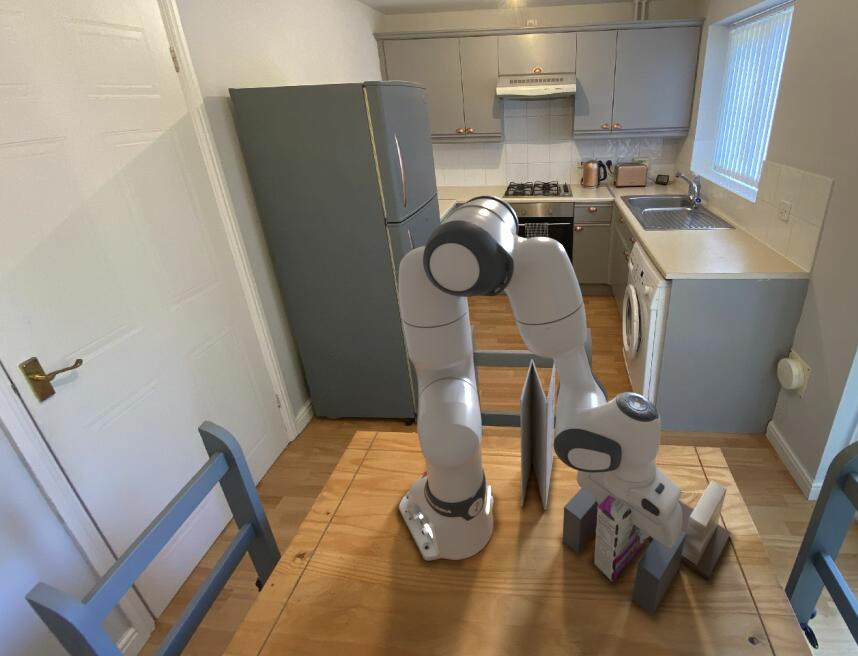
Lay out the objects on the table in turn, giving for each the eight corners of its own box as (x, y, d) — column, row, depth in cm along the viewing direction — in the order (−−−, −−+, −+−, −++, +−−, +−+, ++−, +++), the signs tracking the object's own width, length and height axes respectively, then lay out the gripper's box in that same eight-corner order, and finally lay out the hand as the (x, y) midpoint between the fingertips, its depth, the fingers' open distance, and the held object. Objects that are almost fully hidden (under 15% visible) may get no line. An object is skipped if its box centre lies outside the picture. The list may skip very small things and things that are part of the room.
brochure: (545, 510, 94) (547, 403, 82) (521, 506, 95) (520, 399, 83) (552, 460, 106) (555, 361, 95) (531, 457, 107) (531, 359, 96)
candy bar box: (624, 527, 90) (631, 471, 83) (645, 544, 86) (654, 487, 80) (591, 563, 83) (596, 505, 76) (612, 583, 79) (619, 524, 73)
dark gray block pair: (562, 540, 87) (563, 506, 83) (592, 505, 94) (594, 473, 91) (652, 615, 74) (659, 579, 70) (678, 568, 82) (686, 533, 78)
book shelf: (592, 498, 96) (595, 458, 91) (619, 467, 104) (623, 429, 99) (708, 581, 79) (719, 537, 75) (729, 536, 87) (741, 494, 83)
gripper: (571, 453, 80) (569, 504, 86) (675, 521, 67) (664, 576, 73) (590, 435, 85) (586, 484, 90) (691, 495, 71) (680, 549, 77)
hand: (622, 526), depth 81 cm, fingers open, 6 cm apart
